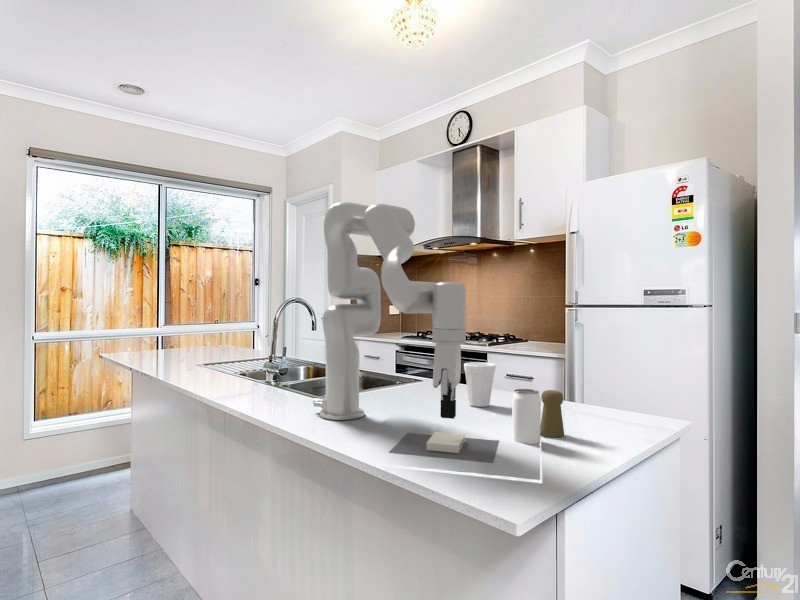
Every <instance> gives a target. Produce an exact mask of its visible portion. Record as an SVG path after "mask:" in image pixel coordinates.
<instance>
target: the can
mask: <svg viewBox="0 0 800 600" xmlns="http://www.w3.org/2000/svg"><path fill="white" fill-rule="evenodd" d="M539 393H540V391H539V390H536V389H531V388H517V389H514V392H513V394H512V400H511V401H512V402H511V404H512V405H511V407H512V408H511V411H512V412H511V416H512V417H511V439H512V441H514V442H517V443H520V444H526V445H528V444H531V445H533V444H538V443H539V444H540V443H541V436H540V425H541V418H542V413H541V412H542V409H541V407H542V404H541V403H542V399H541V396H540V394H539Z"/></svg>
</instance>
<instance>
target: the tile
mask: <svg viewBox="0 0 800 600" xmlns="http://www.w3.org/2000/svg"><path fill="white" fill-rule="evenodd" d="M431 435H432V436H431V438H430V439H429V440H428V442H427V450H430V451H440V452H451V453H459V452H460V450H461V448H462V446H463V444H464V442H465V438H466V434H465V433H456V432H455V433H453V432H452V433H451V432H440V431H434V432H433V434H431Z"/></svg>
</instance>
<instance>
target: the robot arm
mask: <svg viewBox="0 0 800 600" xmlns="http://www.w3.org/2000/svg"><path fill="white" fill-rule="evenodd" d="M323 219H324V220H323V234H324V239H325V240H324V241H325V245H326V251H327V253H326V254H327V258H326V259H327V260H326V263H327V266H326V267H327V271H326V272H327V275H326V276H327V289H328V294H329V295H330V296H331V298H334V299H337V300H356V303H353V304H352V303H342V304H341V303H339V304H333V305H331V306H329V307H328V308H326V309H325V311H324V312H323V315H322V319H321V320H322V328H323V334H324V341H325V343H324V344H325V398H323V399H321V398H314V399H313V402H312V403H313V407H314V408H315V407H317V408H319V407H320V408H321V410H320V411H319V416H320V417H321V418H323V419H327V420H332V421H333V420H334V421H346V420H347V421H348V420H355V419H359V418H362V417H363V416H365V410H364V409H363V408H361V407H360V350H359V348H358V346H357V343H356V341H355V340H354V338H359V337H361V338H362V337H371V336H373V335H375V334H376V333H377V332H378V331H379V329H380V326H381V319H382V318H381V317H382V314H381V313H382V312H381V311H382V310H381V306H382V305H381V297H382V295H381V294H382V293H381V285H382V288H383V290H384V291H385V293H386V295H387V298H388V299H389V301H390V303H391V304H392V305H393V307H394V308H395V309H396V310H398V311H399V312H401V313H402V314H411V315H412V314H432V315H431V316H432V319H431V320H432V330H431V332H432V333H431V334H432V336H431V338H432V339H431V341H432V344H435V347H434V355H433V370H432V371H433V373H432V387H433V388H434V389H436V388H438V387H439V386H440V418H442V419H455V418H456V415H457V413H456V412H457V411H456V410H457V399H456V390H457V386H458V385H460V382H461V369H462V367H461V365H462V364H461V363H462V358H461V357H462V352H461V351H462V349H461V348H462V346H461V345H464V344H466V337H467V336H466V334H467V333H466V332H467V331H466V330H467V329H466V326H467V323H466V322H467V320H466V319H467V302H466V301H467V289H466V285H465V284H464V283H463V282H458V281H456V282H455V281H439V282H433V281H432V282H431V281H421V280H420V281H418V280H417V281H415V280H410V279H409V278H408V276H407V275H406V273H405V271H404V269H403V267H402V264H404V263H405V262H407V261H409V259H410V258H411V257H412V256H413V254H414V252H415V244H414V242H413V241H412V239H411V237H412V234H413V233H414V231H415V226H416V221H415V217H414V215H413V214H412V212H411V211H410V210H409V209H407V208H405V207H401V206H397V205H390V204H387V203H376V204H372V205H366V204H360V203H355V202H350V201H348V202H347V201H341V202H336V203H334V204H332V205H331V206H330V207H329V208H328V210H327V212H326V214H325V216H324V218H323ZM350 235H357V236H365V237H366V236H367V237H370V238H371V240H372V241H373V243H374V245H375V246H376V248H377V250H378V251H379V254H380V256H381V258H382V259H383V261H382V265H381V268H380V269H381V271H380V278H379V276H378V274H377V273H376V271H374V269H371V268H369V267H361V266H358V265H359V264H358V251H357V247H356V245H355V243H354V240H353V239H352V238H351V236H350ZM380 279H381V282H380Z"/></svg>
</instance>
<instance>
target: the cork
mask: <svg viewBox="0 0 800 600" xmlns="http://www.w3.org/2000/svg"><path fill="white" fill-rule="evenodd" d="M540 398H541V403H543V406H542V411H541V412H542V413H541V424H540V437H543V438H547V439H553V438H559V439H563V438H562V437H564V436H565V430H564V421H563V413H562V406H561V405H562V404H563V402H564V395H563V393H562V392H561V391H560V390H554V389H553V390H552V389H548V390H544V391H542V393H541V396H540ZM564 438H565V437H564Z"/></svg>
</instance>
